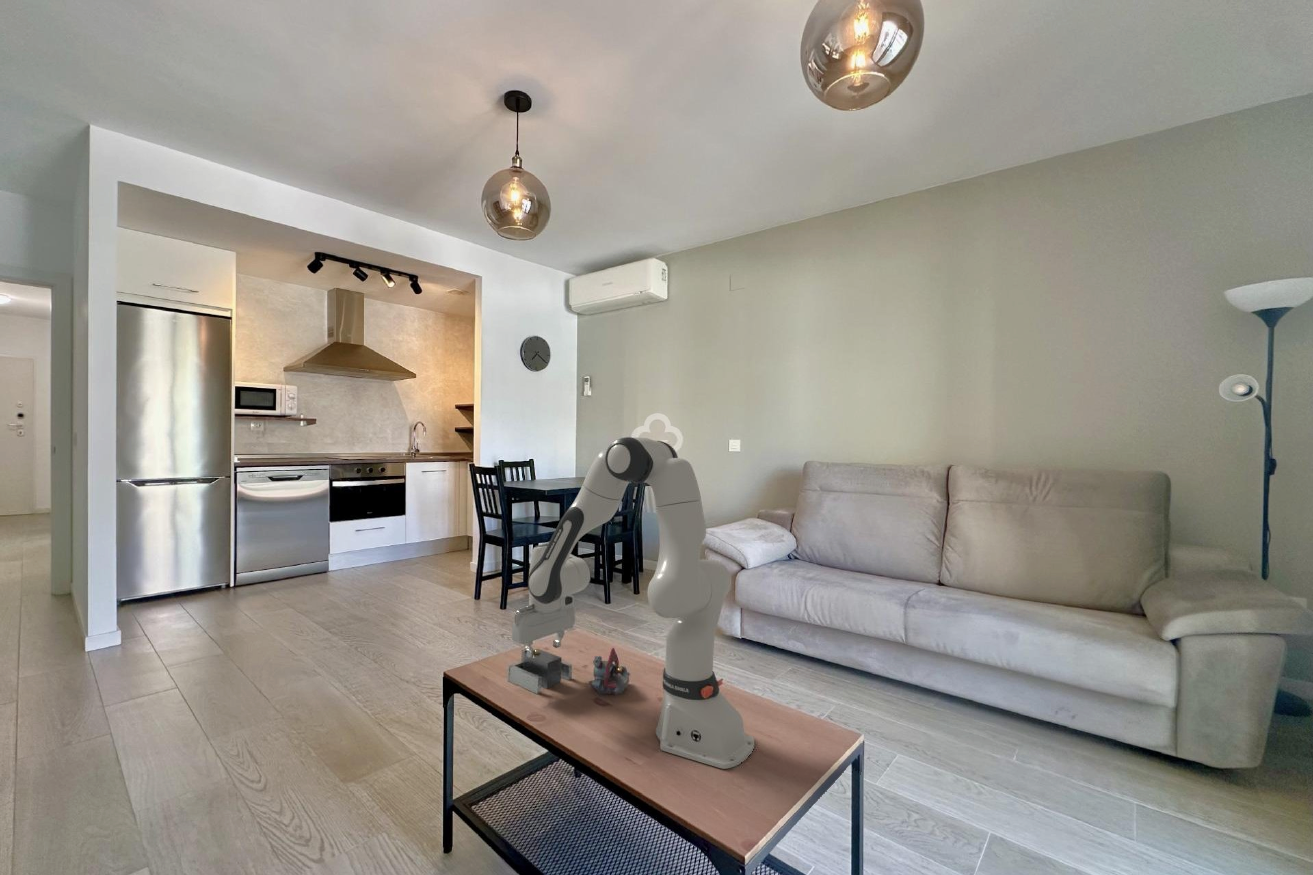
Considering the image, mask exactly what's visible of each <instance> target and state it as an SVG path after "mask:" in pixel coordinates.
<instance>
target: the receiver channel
mask: <svg viewBox="0 0 1313 875" xmlns="http://www.w3.org/2000/svg"><path fill="white" fill-rule="evenodd" d="M532 649H534V648H533V647H532ZM524 653H527V650H526V648H524V649H522V650H521V660H520V661H517V662H514V663H512V664H509V665H507V675H506V678H507V679H506V680H507V681H508V682H510V683H512V684H514V685H516V686H519V687H521V688H523V689H524V690H525V689H526V690H528V691H530V692H532V693H534V694H536V695H539V694H540V693H542V687H541V679H542V677H540V676H537V675H535V674H533V673H530V672H528V671H526V670H523V660H524ZM572 674H573V664H572V663H569V662H566V661H564V660H562V661H561V678H562V679H565V680H566V681H570V680H572V677H573V676H572Z"/></svg>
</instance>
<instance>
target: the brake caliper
mask: <svg viewBox="0 0 1313 875" xmlns="http://www.w3.org/2000/svg"><path fill="white" fill-rule="evenodd" d="M592 661H593V662H592V664H593V665H594V666H593V677H594V680H589V681H588V684H589V685H591V686H592V687H593V688H594V689H595V690H596V691H597V692H598V693H599V694H601V695H623V692H624V691H625V689H626V688H627V686H628V685H629V682H630V676H629V674H628V670H627V669H628V668H627V667H626V666H624V665H622V666H623V667H622V671H618V666H620V661H619V657H618V655H617V652H616V650H615V648H614V647H612V648H611V649H610V652H609V655H608V659H607V660H602V656H601V655H598V656H597V655H595V656H594V659H593V660H592ZM613 662H614V663H613Z"/></svg>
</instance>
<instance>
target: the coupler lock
mask: <svg viewBox="0 0 1313 875" xmlns="http://www.w3.org/2000/svg"><path fill="white" fill-rule="evenodd" d="M534 650H535V656H533V657H531V658H530V657H527V653H524V660H523V670H526V671H528V672H530V673H533V674H535V675H537V676H540V677H542V679H541V688H543V689H546V690H548V689H550V688H552V687H555V686H557V685H559V684H561V683H562V682H561V680H562V679H561V678H562V677H561V661H563V660H562V657H561V656H558V655H556V654H553V653H550V652H548V651H545V650H542V649H540V648H536V649H534Z"/></svg>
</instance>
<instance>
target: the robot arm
mask: <svg viewBox="0 0 1313 875" xmlns="http://www.w3.org/2000/svg"><path fill="white" fill-rule="evenodd" d="M630 483H634V484H643V483H645V484H647V485H649V486H650V488H651V490H652V492H653V496H654V505H655V511H656V518H657V519H656V520H657V527H658V533H659V551H658V559H657V563H656V568H655V572H654V574H653V576H652V578H651V579H650V581H649V583H648V586H647V600H648V604H649V605H650V608H651V609H652V610H653V612H654V614H656V615H658V616H659V617H661V618H663V619H674V620H673V623H672V625H671V627H670V628H669V630H668V632H667V634H666V638H665V662H664V663H665V664H664V669H663V672H662V688H663V697H662V703H661V704H662V705H661V709H660V710H661V711H660V713H659V714H660V715H659V719H658V722H657V725H656V728H655V734H656V737H657V739H658V740H659V742H660V743H659V749H660V750H661V751H663V752H666V753H670V754H673V755H676V756H679V757H682V758H685V759H690V760H693V761H696V762H699V763H702V764H705V765H709V766H713V767H716V768H719V769H722V770H726V769H732V768H734V767H736V766H738V765H740V764H742V763H743V762H744V761H746V760H747V759H748V758H749V757H750V756H751V755H752V753H753V752H754V750H753V749H755V739H754V737H753V736H751V735H749V734H747V733H746V732H745V726H744V721H743V717H742V715H741V713H740V711H738V710H737V709H736V708H735V707H734V706H733V705H732V704H731V702H730V701H729V700H728V699H727V698H726V696H725V695H724V694H723V693H722V692H721V691H720V686H722V685H723V680H724V678H721V679H719V680H717V677H716V674H715V672H714V653H715V652H714V651H715V638H716V633H717V628H718V623H719V620H720V616H721V612H722V609H723V605H724V602H725V599H726V597H727V595H728V594H729V592H730V591H731V589H732V576H731V573H730V570H729V569H728V568H727V566H726V565H725V564H724V563H722V562H720V561H718V560H715V559H703V558H702V559H701V550H702V545H703V542H704V540H705V539H706V536H707V526H706V522H705V521H706V520H705V515H704V507H703V502H702V497H701V492H700V486H699V483H698V480H697V477H696V474H695V471H694V469H693V466H692V464H691V463H690V462H689V461H688V460H686V459H683V458H680V457H678V453H677V451H676V450H675V449H674V447H672V445H671V444H668V443H667V442H665V441H662V440H654V439H650V438H648V437H630V436H627V437H620V438H618V439H615V440H614V441H612V442H611V443H610V445H609V446H608V447H607V449H604V450H601V451H600V452H598V454H597V455H596V457H595V458H594V460H593V462H592V464H591V466H590V467H589V469H588V471H587V473H586V475H585V478H584V481H583V483H582V485H581V488H580V490H579V492H578V494H577V495H576V497H575V499H574V501H573V503H572V504H571V505H570V506H569V508H567V511H565V513H564V514H563V516H562V517H561V518H560V521H559V522H558V523H557V524H558V525H557V527H556V528H555V530H554V532H553V534H552V536H551V538H550V540H549V542H547V543H543V544H538V545H535V547H533V549H532V551H531V554H530V555H531V556H530V562H529V575H528V577H527V578H528V579H527V588H528V591H529V592H528V593H529V594H528V596H529V598H528V600H529V601H528V605H527V606H524V607H523V606H522V607H520V608H519V609H518V610H517V611H516V613H514V618H513V619H514V620H513V624H512V632H511V633H512V634H511V640H512V642H513V643H515V644H518V645H523V646H524V649H526V650H527V657H530V658H531V657H533V656H535V649H534V648H533V647H532V645H533V641H536V640H540V639H542V638H545V637H548V636H552V635H554V634H556V636H555V639H554V640H553V641H552V647H553V648H555V649H557V648H561V647H562V640H563V638H564V635H565V630H568V629H572V628H573V627H574V625H575V623H576V607H575V605H574V603H575V600H576V599H575V598H576V597H575V596H574V594H577V593H580V592H582V591H584V590H586V588H588V586H589V584H590V582H591V578H592V577H591V576H592V575H591V574H592V573H591V568H590V565H589V564H588V562H587V561H586V560H585V559H583V558H582V557H577V556H575V555H574V554H572V552H573V549H575V546H576V544H577V543H578V542H579V540H580V539H581V538H582V537H583V536H585V535H586V534H587V533H588V532H591V531H592V530H593V529H595V528H598V527H599V526H602V525H603V524H606V523H608V522H609V521H610V520H611V519H612V518H613V517H614V516H615V514H616V512H617V511H618V509H619V507H620V505H621V502H622V500H623V498H624V495H625V492H626V489H627V487H628V485H629V484H630ZM532 648H533V649H532ZM752 751H753V752H752ZM750 754H751V755H750ZM749 755H750V756H749ZM748 756H749V757H748ZM741 762H742V763H741Z"/></svg>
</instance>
